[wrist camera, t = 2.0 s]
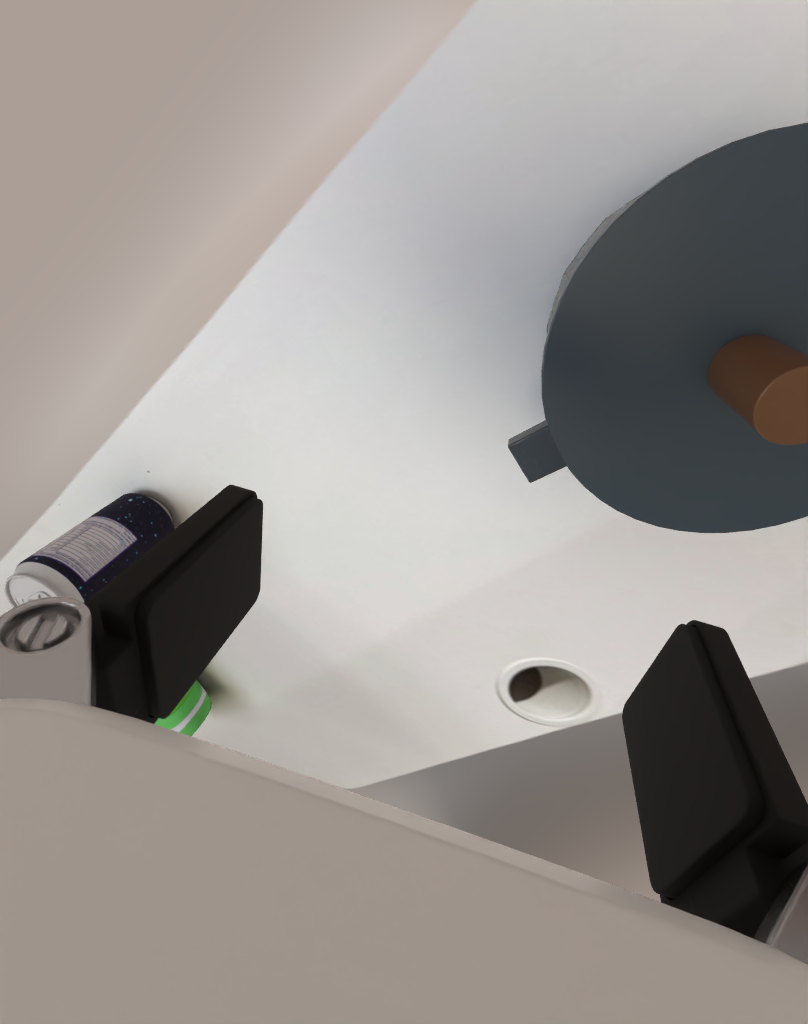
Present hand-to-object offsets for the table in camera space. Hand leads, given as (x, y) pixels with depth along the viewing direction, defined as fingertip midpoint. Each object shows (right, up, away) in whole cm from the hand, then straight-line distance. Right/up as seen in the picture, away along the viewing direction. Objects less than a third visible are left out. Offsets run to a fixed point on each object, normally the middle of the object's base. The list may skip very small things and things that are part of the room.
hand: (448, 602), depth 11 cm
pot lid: (+13, +8, +9) cm, 18 cm away
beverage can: (-23, +2, +33) cm, 40 cm away
